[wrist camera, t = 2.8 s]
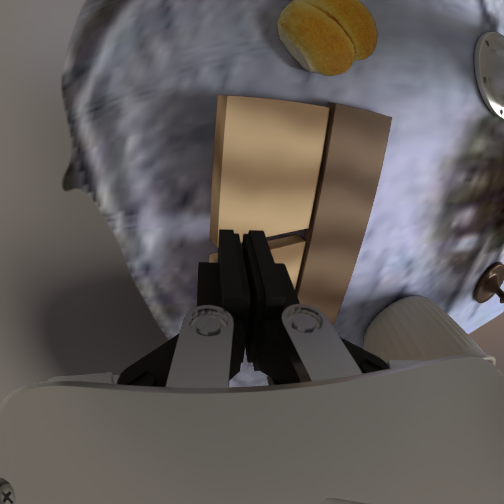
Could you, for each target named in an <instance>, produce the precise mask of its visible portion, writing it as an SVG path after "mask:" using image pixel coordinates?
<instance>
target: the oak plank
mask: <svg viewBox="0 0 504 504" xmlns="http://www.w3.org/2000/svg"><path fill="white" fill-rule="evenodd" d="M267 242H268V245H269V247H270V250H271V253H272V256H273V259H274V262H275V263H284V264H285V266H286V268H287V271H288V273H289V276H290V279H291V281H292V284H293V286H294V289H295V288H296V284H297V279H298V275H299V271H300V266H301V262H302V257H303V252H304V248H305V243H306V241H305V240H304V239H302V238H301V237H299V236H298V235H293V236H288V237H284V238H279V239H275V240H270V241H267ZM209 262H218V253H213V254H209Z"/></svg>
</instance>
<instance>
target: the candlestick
mask: <svg viewBox="0 0 504 504" xmlns="http://www.w3.org/2000/svg"><path fill="white" fill-rule="evenodd" d="M503 280H504V265H503V264H502V263H501V262H496V263H494V264H493V265H491V266H490V267H489V268H488V269H487V270H486V271H485V272H484V274H483V275H482V276H481V278H480V279H479V281H478V283H477V285H476V288H475V291H474V298H475V299H476V301H477V302H478V303H483V302H486V301H487V300H489V299H490V298H491V297H492V296H493V295H494V294H497V295H498V296H499V298H500V303H504V292H503V291H502V290H501V289H500V286H501V284H502V283H503Z"/></svg>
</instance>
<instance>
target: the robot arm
mask: <svg viewBox="0 0 504 504" xmlns="http://www.w3.org/2000/svg"><path fill="white" fill-rule="evenodd" d="M474 64H475V74H476V79H477V83H478V87H479V90H480V93H481V95H482V98H483V100H484V102H485V103H486V105H487V107H488V108H489V109H490V111H491V112H492V113H493V114H495V115H496V116H498V117H500V118H503V119H504V36H503V35H502V34H500V33H497V32H485V33H484V34H482V35H481V36H480V38H479V39H478V42H477V44H476V48H475V56H474ZM245 348H246V355H247V361H248V362H253V366H254V371H262V372H263V373H265V374H266V375H268V376H267V381H268V384H269V386H253V387H229V380H231V379H232V378H233V377H234V376H235V375H236V374H237V373H238V372H239V371H240V366H241V363H243V359H244V351H245ZM0 504H504V376H503V375H502V374H501V372H500V371H499V370H498V369H497V368H496V366H495V365H494V364H492V363H491V362H490V361H488V360H485V359H483V358H479V357H473V356H450V357H443V358H438V359H432V360H388V362H387V363H386V362H385V361H384V360H382V359H381V358H379V357H378V356H376V355H374V354H372V353H370V352H368V351H366V350H364V349H362V348H360V347H358V346H356V345H354V344H352V343H350V342H348V341H346V340H344V339H342V338H340V337H339V336H338V334H337V333H336V331H335V329H334V328H333V326H332V325H331V323H330V322H329V320H328V319H327V317H326V316H325V315H324V313H323V312H322V311H320V310H319V309H317V308H316V307H313V306H311V305H306V304H300V302H299V299H298V297H297V294H296V292H295V289H294V286H293V284H292V281H291V279H290V276H289V273H288V271H287V268H286V266H285V264H284V263H275V262H274V259H273V256H272V253H271V250H270V247H269V245H268V242H267V239H266V236H265V233H264V231H263V230H249V232H248V234H243V241H242V247H241V242H240V236H239V233H234V230H227V229H219V239H218V262H199V267H198V293H197V307H195V308H193V309H191V310H190V311H189V312H188V313H186V315H185V317H184V319H183V323H182V327H181V330H180V333H179V334H178V335H176V336H175V337H173V338H172V339H170V340H169V341H167V342H166V343H164V344H163V345H161V346H160V347H158V348H157V349H155V350H154V351H152V352H151V353H149V354H148V355H146V356H145V357H143V358H142V359H140V360H139V361H137V362H135V363H134V364H132V365H131V366H129V367H128V368H126V369H125V370H124V371H123V372H122V373H121V374H120V375H115V376H112V374H111V373H101V374H90V375H77V376H61V377H54V378H50V379H49V380H47V381H46V382H42V383H36V384H31V385H27V386H24V387H21V388H19V389H16V390H14V391H13V392H11V393H10V394H9V395H8V396H7V397H6V398H5V399H4V400H3V402H2V403H1V404H0Z"/></svg>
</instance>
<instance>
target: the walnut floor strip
mask: <svg viewBox="0 0 504 504" xmlns="http://www.w3.org/2000/svg"><path fill="white" fill-rule="evenodd" d="M327 107H329V108H330V109H329V116H328V123H327V129H326V135H325V142H324V148H323V154H322V160H321V165H320V171H319V177H318V182H317V188H316V193H315V198H314V203H313V209H312V214H311V219H310V224H309V228H307V229H306V232H305V237H304V240H305V241H306V243H305V248H304V252H303V257H302V262H301V266H300V271H299V275H298V279H297V284H296V288H295V292H296V294H297V297H298V299H299V302H300V304H306V305H311V306H313V307H316V308H317V309H319V310H320V311H322V312H323V313H324V315H325V316H326V317H327V319H328V320H329V322H330V323H331V325H334V323H335V321H336V318H337V315H338V313H339V310H340V307H341V304H342V302H343V299H344V296H345V293H346V290H347V288H348V285H349V282H350V279H351V276H352V273H353V270H354V267H355V264H356V261H357V257H358V254H359V251H360V248H361V245H362V241H363V238H364V234H365V231H366V228H367V224H368V221H369V217H370V213H371V210H372V206H373V202H374V198H375V194H376V190H377V186H378V182H379V178H380V174H381V169H382V165H383V161H384V156H385V151H386V146H387V142H388V136H389V131H390V126H391V120H392V117H389V116H386V115H382V114H378V113H375V112H371V111H367V110H363V109H359V108H354V107H350V106H345V105H341V104H336V103H330V102H328V105H327Z"/></svg>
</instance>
